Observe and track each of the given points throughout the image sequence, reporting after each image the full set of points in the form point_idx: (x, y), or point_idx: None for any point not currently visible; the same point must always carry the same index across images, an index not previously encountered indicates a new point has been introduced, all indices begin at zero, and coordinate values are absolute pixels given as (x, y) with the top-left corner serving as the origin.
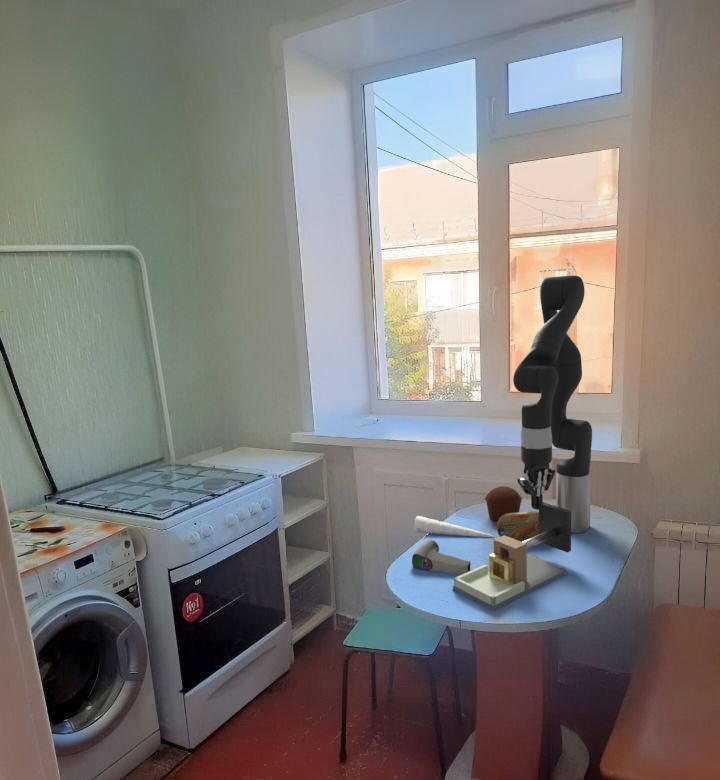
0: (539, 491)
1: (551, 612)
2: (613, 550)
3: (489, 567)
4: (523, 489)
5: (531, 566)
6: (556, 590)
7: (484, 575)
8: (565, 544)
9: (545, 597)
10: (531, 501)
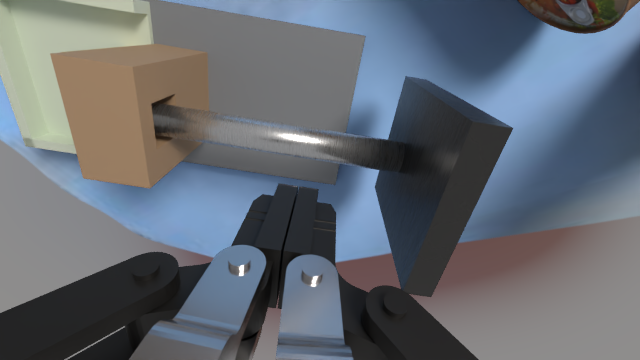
0: (245, 353)
1: (160, 224)
2: (532, 212)
3: (101, 48)
4: (35, 310)
5: (290, 104)
6: (242, 196)
7: (120, 23)
8: (380, 193)
9: (198, 192)
10: (243, 221)
